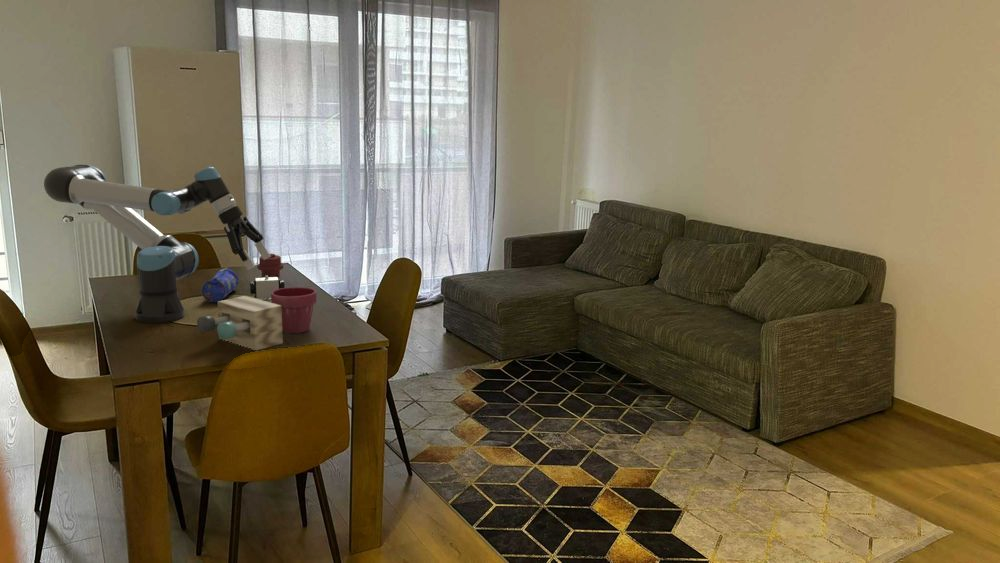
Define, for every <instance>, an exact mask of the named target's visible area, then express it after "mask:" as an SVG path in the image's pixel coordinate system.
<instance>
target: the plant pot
mask: <svg viewBox="0 0 1000 563" xmlns="http://www.w3.org/2000/svg"><path fill="white" fill-rule="evenodd" d="M271 303H274V304H278V305H281V308H282V333H287V334H298V333H299V334H300V333H304V332H308V331H309V330H310V327H311V322H312V317H313V311H314V305H315V304H316V303H317V290H316V289H314V288H311V287H301V286H295V287H294V286H293V287H291V286H290V287H289V286H288V287H285V288H281V289H277V290H274V291H272V293H271Z"/></svg>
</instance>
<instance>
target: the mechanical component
mask: <svg viewBox="0 0 1000 563" xmlns="http://www.w3.org/2000/svg"><path fill="white" fill-rule="evenodd" d="M269 254H270V256H271V257H269V258H267V259H265V260H264V259H263V258H262V256H261V255H260V256H259V258H258V259H259V260H258V262H259V263H258V264H257V270H258V271H260V272H261V278H265V276H268V277H279V278H280V279H281V275H280V274H281V273H280V271H281V270H283V269H284V264H283V263H282V257H281V255H276V254H275V253H269Z"/></svg>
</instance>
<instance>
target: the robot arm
mask: <svg viewBox="0 0 1000 563" xmlns="http://www.w3.org/2000/svg"><path fill="white" fill-rule="evenodd" d="M193 177H194V181H193V182H191V183H190V184H188V185H185V186H184V187H181V188H176V189H172V190H170V189H169V190H167V189H160V188H159V189H158V188H152V187H146V186H140V185H139V186H137V185H131V184H125V183H117V182H110V181H109V182H108V181H107V180H106V176H105V174H104V172H102V171H101V170H100V169H99V168H98V167H96V166H93V165H90V164H75V165H72V166H64V167H63V166H60V167H55V168H54V169H52V170H50V171H49V172H48V173H47V174H46V176H45V178H44V180H43V188H44V190H45V193H46V194H47V196H48V197H50V198H51V199H52V200H54V201H56V202H59V203H65V204H66V203H68V204H76V205H80V206H81V207H82V208H83V209H84V210H93V211H94V212H95V213H96V214H98V215H99V216H100V217H101V218H103V219H104V220H105V221H106V222H108V224H110V225H111V226H112V227H114V228H115V229H116V230H118V231H119V233H121V234H122V235H123V236H124V237H126V238H128V239H129V240H130V241H131V242H133V243H134V244H135V245H136V246H137V247H138V248H139V249H141V250H140V251H139V252H138V253H137V256H136V269H137V278H138V280H137V282H138V291H139V293H138V294H139V298H138V300H137V305H136V309H135V314H134V315H135V320H136V321H137V322H140V323H150V324H157V323H167V322H174V321H177V320H180V319H182V318H183V317H184V316H185V309H184V306H183V304H182V301H181V300H180V297H179V295H178V286H177V281H178V280H181V279H182V278H187V277H188V276H190V275H191V274H192V273H194V272H195V271H196V270H197V268H198V266H199V262H200V261H199V260H200V259H199V254H198V252H197V250H196V248H195V246H193V245H192V244H190V243H188V242H183V241H182V242H181V241H179V240H178V239H177V238H175V237H174V236H173V235H172V234H163V233H162V231H160V230H159V229H157V228H156V227H155V226H154V225H153V224H151V223H150V222H149V221H148V220H147V219H145V218H144V217H143V216H142V215H140V214H139V213H138V212H136V211H135V210H140V211H147V212H154V213H156V214H158V215H160V216H171V215H175V214H180V215H182V214H185V213H187V212H190V211H191V210H192V209H193V210H194V209H195V208H196V207H198V206H199V205H201V204H203V203H205V202H207V201H208V202H209V203H210V205H211V207H212V208H213V210H214V212H215V214H217V215H218V219H219V220H220V222H221V223H222V225H226V226H224V227H223V229H224V232H225V234H226V237H227V239H228V243H229V246H230V249H231V252H232V253H233V254H234V256H235V255H238V256H239V257H240V260H241V261H242V262H243V264H244V266H245V268H246V270H248V271H250V270H252V269H254V268H255V267H256V265H255V263H254V262H253V260H252V258H251V257H250V255H249V253H248V251H247V250H246V249H244V245H243V244H244V243H243V237H242V235H244V236H246V237H247V238H249V239H250V240H251V241H252V242H253V243H254V246H255V247H256V249H257V251H258V253H259V254H260V257H261V256H262V258H263V259H264V260H265V259H267V258H269V257H271V256H270V254H271V253H270V252H269V250H268V249H267V248H266V246H265V245H264V244H265V243H263V241H262V240H264V237H263V234H261V232H260V231H259V230H258V229H257V228H256V227H255V226H254V225H253V224H252V223H251V221H249V219H248V218H247V216H244V217H243V218H242V217H241V216H243V212H242V210H241V208H240V206H239V205H236V204H237V202H236V200H235V199H234V196H233V195H232V193H231V192H230V191H229V189H228V187H227V186H226V183H225V182H224V179H223V178H222V176H221V175H220V174H219V172H218V171H217V169H216V168H215V167H214V166H207V167H205V168H204V169H201V170H199V171H197V172H195V174H194V176H193ZM181 317H182V318H181ZM179 318H180V319H179ZM173 320H174V321H173Z"/></svg>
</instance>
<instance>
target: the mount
mask: <svg viewBox="0 0 1000 563" xmlns="http://www.w3.org/2000/svg"><path fill="white" fill-rule="evenodd" d="M216 303H217V304H216V305H217V318H219V317H223V316H228V315H230V322H232V323H233V324H234V325H235V324H239V323H244V322H248V321H250V329H246V330H242V331H238V332H236V334H235V336H234V337H232V338H228V339H224V340H225V342H227V341H229V342H228V343H231V342H232V343H231V344H234V343H235V344H234V345H237V344H238V345H237V346H240V345H241V347H243V346H244V347H243V348H246V347H248V348H247V349H249V348H251V349H250V350H252V349H253V350H252V351H255V350H256V351H260V350H264V349H266V348H270V347H273V346H277V345H281V344H284V341H283V339H284V337H283V331H282V308H281V305H278V304H274V303H270V302H267V301H263V300H262V299H260V298H255V297H251V296H247V295H242V296H238V297H232V298H228V299H224V300H223V299H222V300H221V301H217V302H216ZM218 337H219V336H218ZM219 340H221V338H220V337H219ZM224 340H223V341H224Z"/></svg>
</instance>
